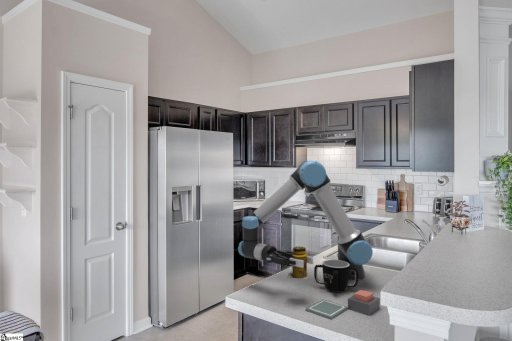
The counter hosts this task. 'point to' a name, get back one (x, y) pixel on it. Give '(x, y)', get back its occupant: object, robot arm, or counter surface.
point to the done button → (363, 296)
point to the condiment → (298, 271)
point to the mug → (336, 275)
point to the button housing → (364, 305)
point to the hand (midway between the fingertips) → (307, 262)
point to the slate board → (326, 309)
